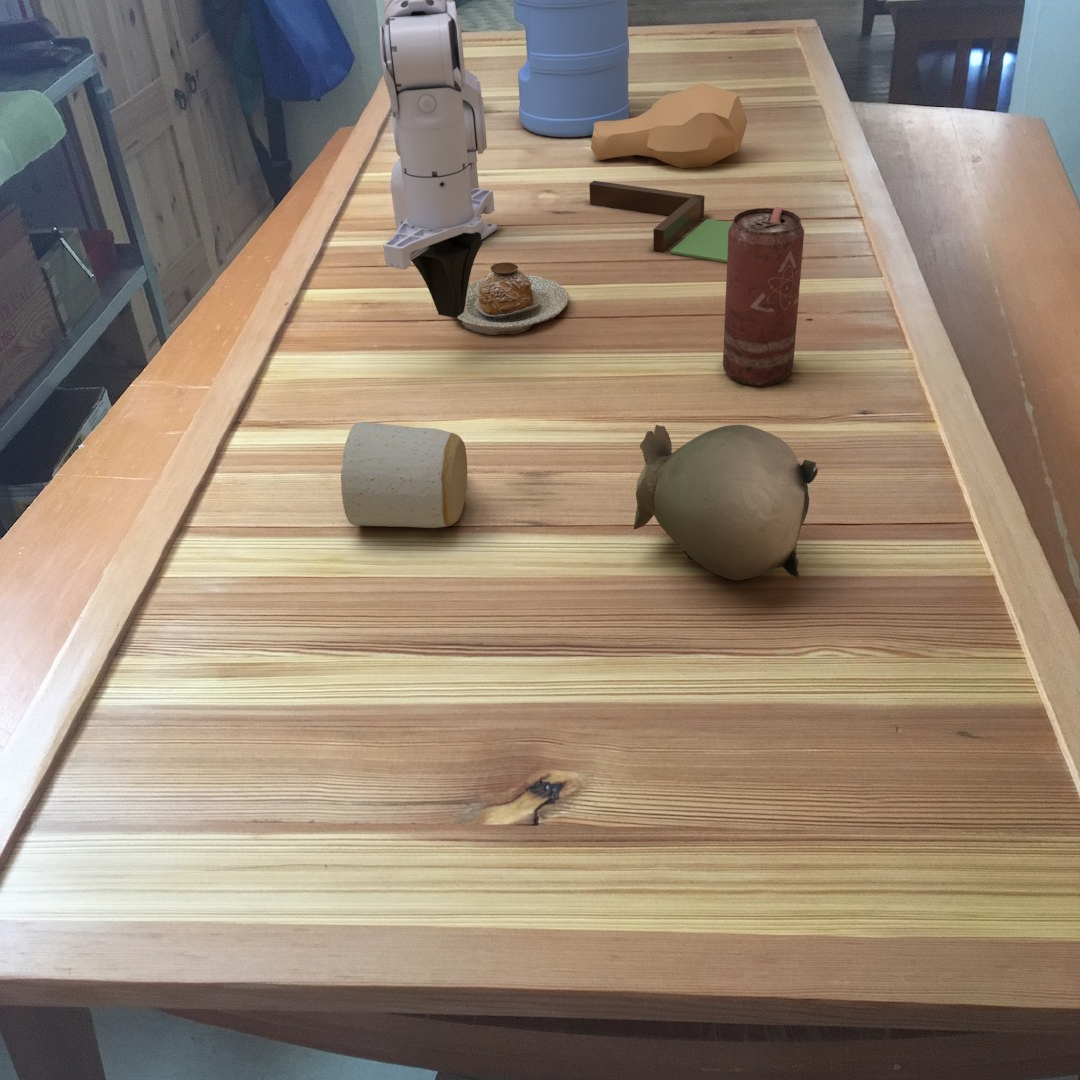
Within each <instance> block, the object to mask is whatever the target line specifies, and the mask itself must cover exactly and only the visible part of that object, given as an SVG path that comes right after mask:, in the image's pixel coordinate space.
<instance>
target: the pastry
mask: <svg viewBox="0 0 1080 1080" xmlns="http://www.w3.org/2000/svg"><path fill="white" fill-rule="evenodd" d="M568 301H569V294H568V292H567V290H566V289H565V288H564V287H563V286H562V285H560V284H559V283H558V282H556V281H553V280H552V279H551V280H550V279H548V278H545V277H542V276H538V275H532V274H525V273H523V272H522V271H521V270H520V269H519V266H518V265H517V264H515V263H512V262H498V263H494V264H493V265H491V266H490V271H489V273H488V274H487V275H486V274H485V276H484V277H483V278H480V279H477V280H474V281H471V282H469V283H468V289H467V296H466V302H465V308H464V313H462V314H461V315H459V316H458V317H457V318H456V319H457V320H459V321H460V322H461V326H463V327H464V328H465V329H467V330H468V331H469V330H470V331H472V332H476V333H480V334H486V335H491V336H494V335H495V336H496V335H504V334H505V335H508V334H510V335H513V334H519V333H524V332H527V331H529V329H531V327H532V326H533V325H534V324H538V323H546V322H548V321H549V320H554V319H555V318H556V317H557V316H560V314H561V312H562V311H563V310H564V309H565V308H566V306H567V305H568V303H569V302H568Z"/></svg>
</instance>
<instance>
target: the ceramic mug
mask: <svg viewBox="0 0 1080 1080" xmlns="http://www.w3.org/2000/svg"><path fill="white" fill-rule="evenodd" d="M467 457H468V456H467V449H466V444H465V441H464V440H463V439H462V438H461V436H460V435H459V434H456V433H454V432H450V431H446V430H443V429H438V428H431V427H415V426H414V427H413V426H407V425H406V426H405V425H396V424H387V423H386V424H385V423H377V422H369V421H359V422H356V423H354V425H352V427H351V429H350V431H349V432H348V435H347V438H346V441H345V443H344V449H343V452H342V459H341V471H340V485H341V486H340V488H341V497H342V498H341V499H342V505H343V506H342V507H343V511H344V514H345V517H346V519H347V521H348V522H349V523H350V524H351V525H354V526H370V527H371V526H372V527H398V528H399V527H401V528H405V527H406V528H423V529H437V528H445V527H450V526H452V525H454V524H455V523H456V522H458V521H459V519H461V516H462V513H463V509H464V506H465V500H466V494H467V486H468V485H467V483H468V458H467Z"/></svg>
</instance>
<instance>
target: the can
mask: <svg viewBox="0 0 1080 1080" xmlns="http://www.w3.org/2000/svg"><path fill="white" fill-rule="evenodd" d="M801 222H802V220H801V218H800V216H799V215H798V214H796V213H794V212H793V211H789V210H787V209H783V207H774V208H773V207H760V208H759V207H757V208H751V209H748V210H744V211H742V212H739V213H738V214H736V215H734V217H733V220H732V222H731V223H732V224H731V226H730V228H729V230H728V254H727V263H726V281H725V282H726V283H725V304H724V306H725V307H724V325H723V326H724V329H723V348H722V349H723V350H722V352H723V353H722V366H723V370H724V372H725V373H726V374H727V376H728V377H729V378H730V379H731V380H733V381H735V382H736V383H738V384H742V385H745V386H753V387H763V386H764V387H767V386H772V385H776V384H778V383H780V382H783V381H784V380H785V379H786V378H788V376H789V375H790V374H791V372H792V371H793V369H794V361H795V349H796V338H797V337H796V336H797V325H798V311H799V299H800V290H801V289H800V288H801V278H802V277H801V275H802V265H803V264H802V263H803V252H804V242H805V241H804V240H805V229H804V227H803V225H802V223H801Z"/></svg>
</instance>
